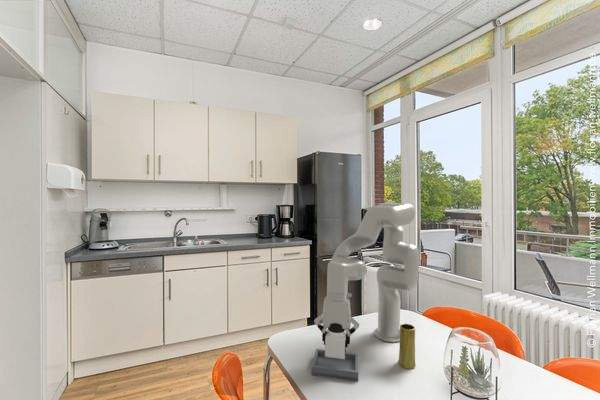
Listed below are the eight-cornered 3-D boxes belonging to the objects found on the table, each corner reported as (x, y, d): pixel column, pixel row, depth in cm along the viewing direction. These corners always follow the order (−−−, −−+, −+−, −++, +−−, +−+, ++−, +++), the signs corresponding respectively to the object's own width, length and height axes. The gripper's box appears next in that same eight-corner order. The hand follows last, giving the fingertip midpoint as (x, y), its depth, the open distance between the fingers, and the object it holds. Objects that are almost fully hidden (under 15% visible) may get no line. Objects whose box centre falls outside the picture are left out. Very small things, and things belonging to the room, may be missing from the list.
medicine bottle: (345, 359, 101) (345, 325, 101) (324, 357, 102) (325, 323, 102) (346, 349, 108) (346, 317, 108) (327, 347, 109) (327, 315, 109)
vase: (407, 371, 104) (408, 331, 104) (394, 362, 110) (395, 324, 109) (419, 366, 107) (420, 328, 107) (406, 358, 112) (406, 321, 112)
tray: (357, 361, 110) (357, 353, 109) (358, 381, 98) (358, 372, 98) (315, 356, 112) (316, 348, 112) (311, 375, 101) (311, 366, 101)
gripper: (361, 294, 107) (360, 342, 107) (314, 290, 110) (313, 336, 110) (362, 301, 100) (360, 352, 100) (312, 296, 103) (310, 346, 103)
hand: (335, 343), depth 105 cm, fingers closed on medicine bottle, 7 cm apart
